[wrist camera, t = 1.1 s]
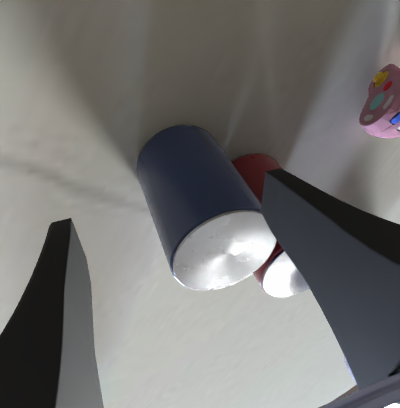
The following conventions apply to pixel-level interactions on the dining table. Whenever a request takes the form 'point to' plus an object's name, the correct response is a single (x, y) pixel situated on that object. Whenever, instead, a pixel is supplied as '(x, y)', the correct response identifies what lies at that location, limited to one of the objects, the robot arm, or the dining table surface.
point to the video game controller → (383, 104)
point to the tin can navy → (202, 209)
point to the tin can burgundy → (278, 260)
